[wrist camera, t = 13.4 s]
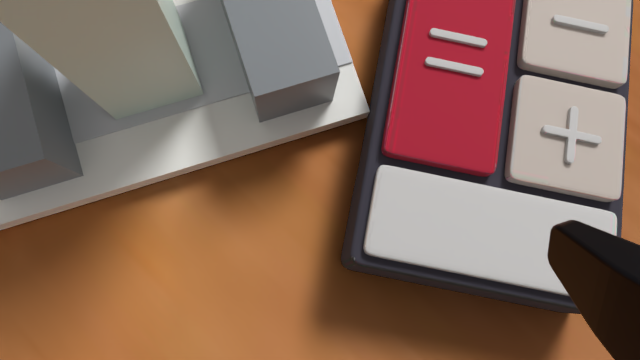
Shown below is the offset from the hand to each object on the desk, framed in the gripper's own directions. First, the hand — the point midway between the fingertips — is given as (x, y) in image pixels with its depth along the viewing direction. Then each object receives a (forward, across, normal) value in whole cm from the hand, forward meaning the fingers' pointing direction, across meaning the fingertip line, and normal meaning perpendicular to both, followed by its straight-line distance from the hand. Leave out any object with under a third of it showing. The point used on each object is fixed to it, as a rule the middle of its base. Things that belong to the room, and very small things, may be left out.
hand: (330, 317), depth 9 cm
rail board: (+18, +4, +1) cm, 18 cm away
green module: (+17, +4, +1) cm, 18 cm away
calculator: (+13, -10, +7) cm, 18 cm away
